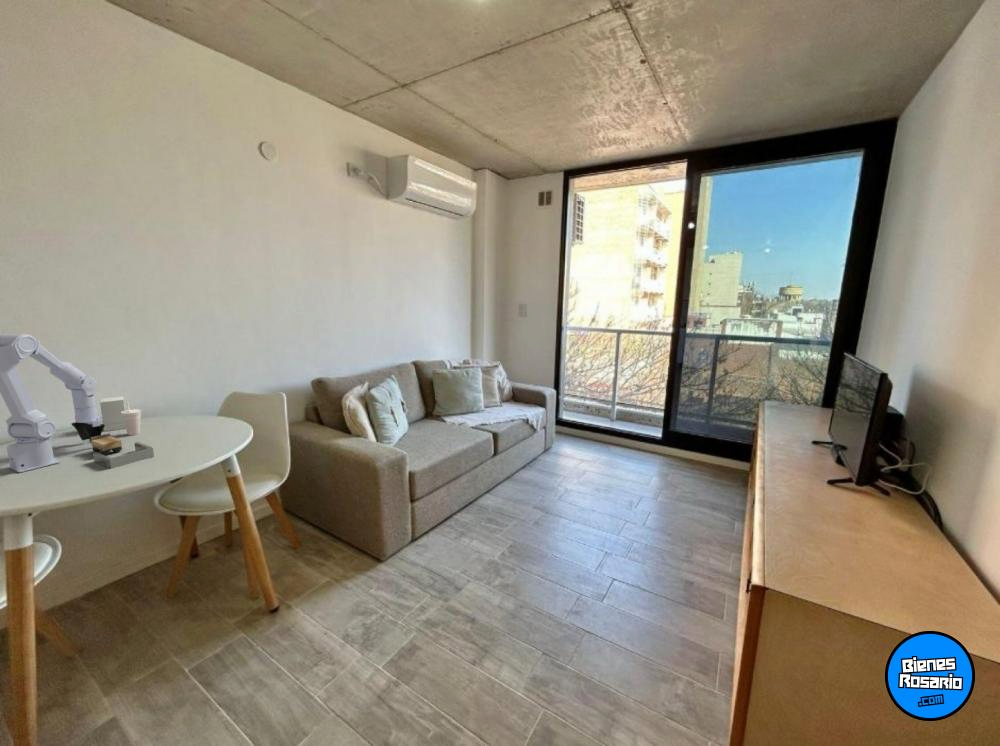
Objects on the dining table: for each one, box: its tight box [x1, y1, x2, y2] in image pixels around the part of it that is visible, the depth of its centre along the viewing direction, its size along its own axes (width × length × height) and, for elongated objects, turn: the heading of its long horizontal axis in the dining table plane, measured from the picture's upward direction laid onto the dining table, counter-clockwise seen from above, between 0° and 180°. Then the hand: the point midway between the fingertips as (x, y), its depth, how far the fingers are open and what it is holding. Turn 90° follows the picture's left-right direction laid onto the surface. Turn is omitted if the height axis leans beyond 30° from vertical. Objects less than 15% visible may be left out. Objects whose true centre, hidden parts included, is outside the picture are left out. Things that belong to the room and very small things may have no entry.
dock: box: [92, 441, 155, 469], centre depth 142 cm, size 12×11×3 cm
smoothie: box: [121, 400, 142, 436], centre depth 165 cm, size 6×6×14 cm
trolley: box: [90, 433, 123, 456], centre depth 147 cm, size 6×8×6 cm
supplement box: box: [99, 396, 126, 432], centre depth 171 cm, size 7×7×13 cm
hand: (90, 441), depth 152 cm, fingers open, 7 cm apart
